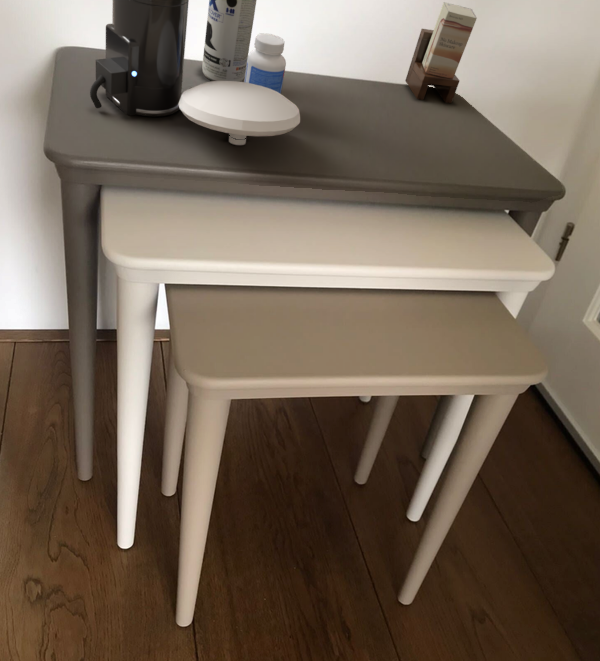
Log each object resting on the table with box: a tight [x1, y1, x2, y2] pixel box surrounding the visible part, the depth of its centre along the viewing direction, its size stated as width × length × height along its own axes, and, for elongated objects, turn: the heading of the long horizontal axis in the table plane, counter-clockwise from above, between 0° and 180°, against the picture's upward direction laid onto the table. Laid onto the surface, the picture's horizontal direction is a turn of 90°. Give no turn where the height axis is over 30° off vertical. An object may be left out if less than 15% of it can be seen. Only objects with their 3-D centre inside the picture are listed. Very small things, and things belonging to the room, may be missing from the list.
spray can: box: [201, 0, 257, 82], centre depth 96 cm, size 7×7×20 cm
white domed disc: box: [178, 80, 301, 146], centre depth 86 cm, size 16×16×7 cm
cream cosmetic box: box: [422, 1, 478, 79], centre depth 108 cm, size 5×4×10 cm
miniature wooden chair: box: [404, 28, 460, 104], centre depth 112 cm, size 6×7×9 cm
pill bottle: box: [243, 32, 287, 95], centre depth 94 cm, size 6×5×10 cm
